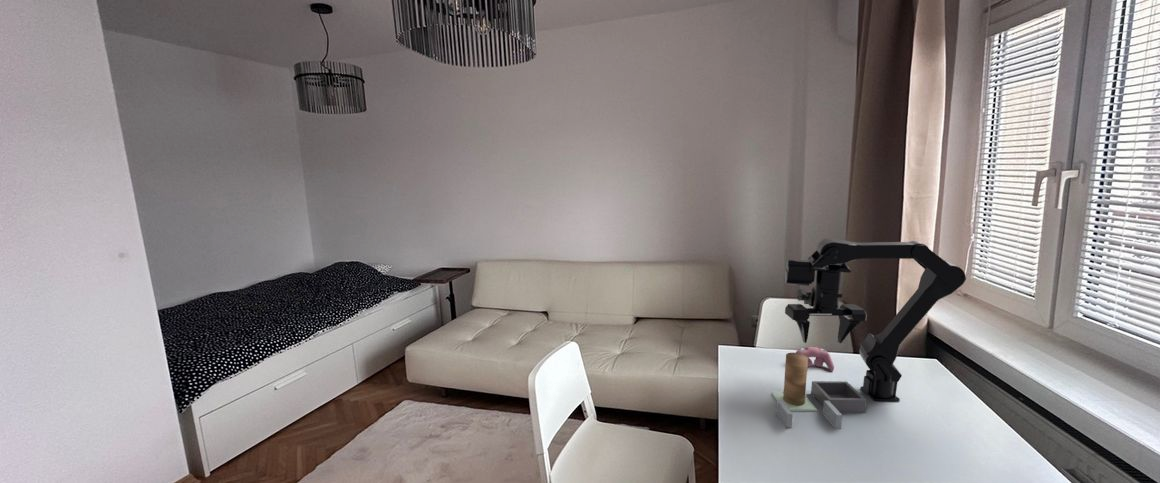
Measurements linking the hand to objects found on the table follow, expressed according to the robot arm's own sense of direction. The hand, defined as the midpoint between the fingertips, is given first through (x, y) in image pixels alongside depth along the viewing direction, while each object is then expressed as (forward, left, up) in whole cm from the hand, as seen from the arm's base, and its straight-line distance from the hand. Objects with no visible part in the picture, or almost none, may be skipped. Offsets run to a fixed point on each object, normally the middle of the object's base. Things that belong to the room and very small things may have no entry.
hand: (822, 342), depth 118 cm
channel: (+10, +16, -13) cm, 23 cm away
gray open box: (-1, +8, -13) cm, 15 cm away
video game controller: (-4, -11, -13) cm, 18 cm away
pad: (+10, +8, -13) cm, 18 cm away
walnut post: (+10, +8, -13) cm, 18 cm away
